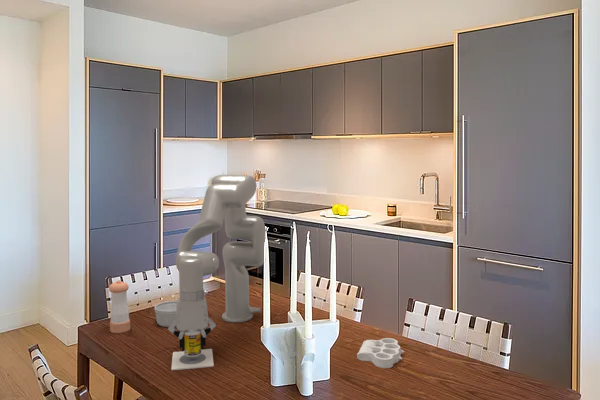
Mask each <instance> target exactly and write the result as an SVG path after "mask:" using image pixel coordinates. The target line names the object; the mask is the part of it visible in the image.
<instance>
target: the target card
mask: <svg viewBox="0 0 600 400" xmlns="http://www.w3.org/2000/svg"><path fill="white" fill-rule="evenodd" d="M212 367H215V365H214V355H213V349H212V348H206V349H205V348H204V349H203V350H202V349H201V354H200V355H199V356H196V357H187V356H185V355H184V351H182V350H181V351H173V352H172V359H171V369H170V370H171V371H181V370H191V369H201V368H203V369H204V368H212Z"/></svg>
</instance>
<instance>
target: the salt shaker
mask: <svg viewBox="0 0 600 400" xmlns="http://www.w3.org/2000/svg"><path fill="white" fill-rule="evenodd" d="M129 287H130V286H129V284H128V283H127V282H125V281H121V280H116V281H115V282H113V283H111V284H110V285H109V287H108V291H109V293H111V294H110V295H111V296H110V297H111V298H110V299H111V303H110V312H109V314H110V321H109V331H110V332H111V333H112V334H121V333H122V334H123V333H126V332H128V331H130V330H131V319H130V309H129V305H128V297H127V296H128V295H127V293H128V292H127V291H128V290H129V289H130V288H129Z"/></svg>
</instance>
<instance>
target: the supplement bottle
mask: <svg viewBox="0 0 600 400" xmlns="http://www.w3.org/2000/svg"><path fill="white" fill-rule="evenodd" d="M201 335H202V333H201V331H200V330H194V329H191V330H188V331H184V334H183V337H184V355H185V356H187V357H196V356H199V355H200V354H201V350H202V349H201Z"/></svg>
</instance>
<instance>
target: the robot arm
mask: <svg viewBox="0 0 600 400" xmlns="http://www.w3.org/2000/svg"><path fill="white" fill-rule="evenodd" d="M256 191H257V181H256V179H255V178H254V176H252V175H248V174H247V175H245V174H218V175H215V176H214V177H213V178H212V179H211V185H209V186H208V187H207V188H206V191H205V194H204V198H203V201H202V206H201V210H200V213H199V218H198V221H197V222H196V223H195V224H194V225H193V226H192V227H190V229H189V230H188V231H187V232H186V233H185V234H184V235H183V236H182V237H181V240H180V242H179V244H178V248H177V252H176V257H175V266H176V269H177V271H178V283H179V285H178V286H179V289H178V290H179V297H178V298H177V300H176V301H177V306H176V319H175V320H174V321H173V323H172V324H171V325H170V326H169V327H167V328H168V329H167V330H168V331H169V332H171V333H172V334H173V335H174V336H175V337H176V338H178V341H179V342H178V343H179V349H181V351H184V331H188V330H191V329H194V330H200V331H201V350H205V348H204V347H206V346H207V345H206V344H207V343H206V338H207V336H208V335H209V334H210V333H211V332H212V331H213V330H214V328H216V327H217V324H216V322H214V320H212V318H211V317H209V313H208V303H207V298H206V295H209V292H208V290H206V289H204V277H206V276H210V275H212V274H214V273H216V271H217V270H218V269H219V266H220V258H219V257H218V254H216V253H214V252H210V251H198V250H197V251H196V250H192V248H193V246H194V245H195V243H197V242H198V241H199V240H201V239H203V238H204V237H206V236H207V237H208V235H212V234H213V233H216V232H219V231H220V230H221V229H222V228H223V226H224V230H225V234H226V237H227V238H229V239H233V240H232V241H229V242H227V243H225V244H224V245H223V247H222V258H223V263H224V276H225V277H224V278H225V280H224V281H225V283H224V284H225V288H224V289H225V312H223V313H222V315H221V319H222V320H223V321H225V322H228V323H243V322H249V321H250V320H251V319H253V318H254V314H255V313H261V307H257V306H251V305H250V281H249V280H250V277H249V272H248V270H247V268H246V267H247V266H249V267H261V266H263V265H264V264H265V262H264V242H265V239H266V226H265V222H264V219H263V218H262V217H260V216H257V215H247V211H246V204H247V203H248V202H249V201H250V200H251V199H252V198H253V197H254V195H255V194H256ZM234 239H235V240H234ZM237 240H238V241H237ZM239 240H250V241H239ZM245 266H246V267H245Z"/></svg>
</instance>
